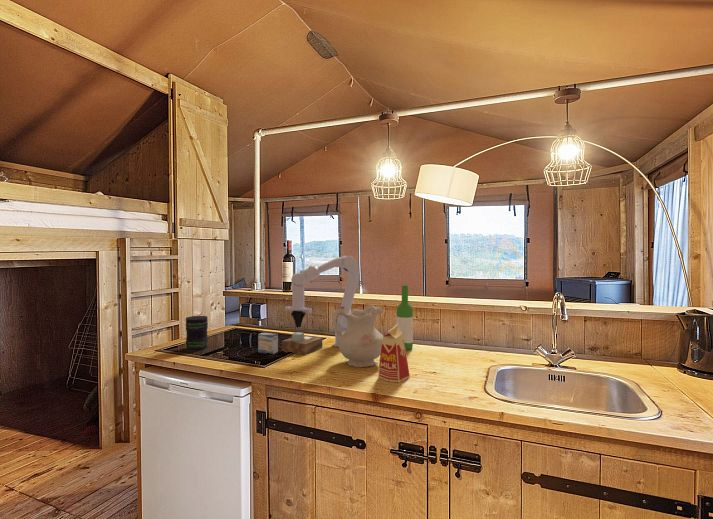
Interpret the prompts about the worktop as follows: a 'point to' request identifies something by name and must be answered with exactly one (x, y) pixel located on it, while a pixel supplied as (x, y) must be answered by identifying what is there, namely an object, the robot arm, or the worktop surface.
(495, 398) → the worktop surface
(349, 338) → the ceramic pitcher
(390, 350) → the milk carton
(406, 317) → the wine bottle
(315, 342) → the socket block
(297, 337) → the pale grey block
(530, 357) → the worktop surface
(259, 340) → the medicine box
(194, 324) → the storage jar
